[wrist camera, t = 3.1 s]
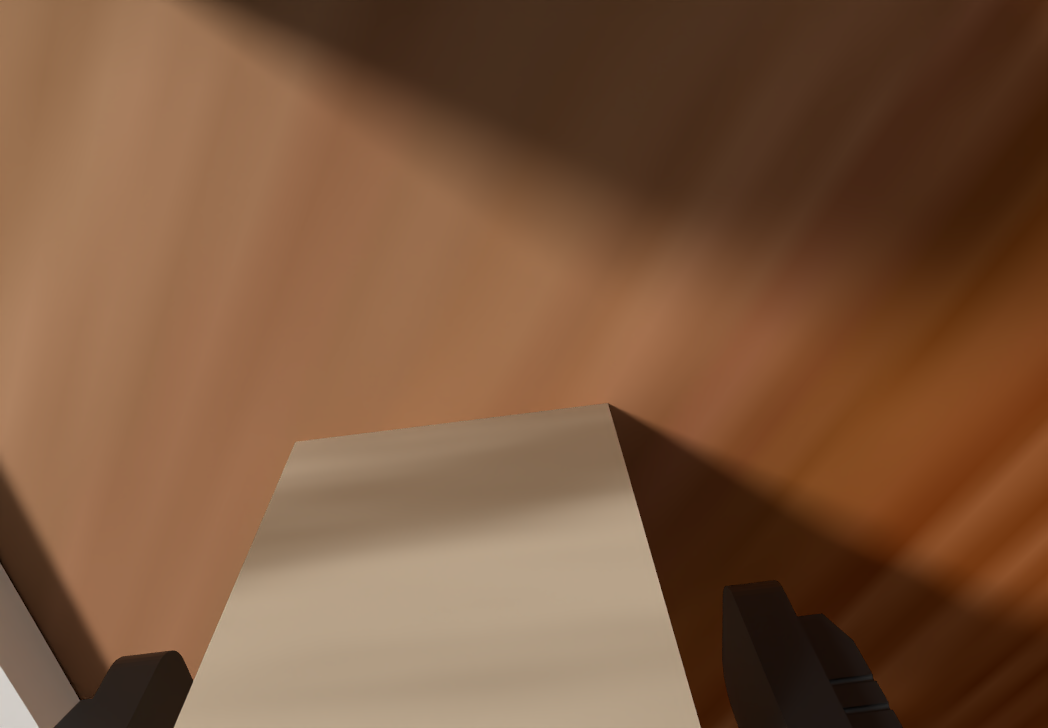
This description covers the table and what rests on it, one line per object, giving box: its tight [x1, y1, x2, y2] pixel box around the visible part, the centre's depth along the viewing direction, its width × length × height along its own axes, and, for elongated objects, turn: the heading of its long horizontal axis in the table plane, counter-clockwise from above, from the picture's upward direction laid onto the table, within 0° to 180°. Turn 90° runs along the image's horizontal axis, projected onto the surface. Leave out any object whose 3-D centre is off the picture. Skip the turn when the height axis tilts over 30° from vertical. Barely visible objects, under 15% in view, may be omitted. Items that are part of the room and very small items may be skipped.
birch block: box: [174, 403, 701, 728], centre depth 10 cm, size 5×5×6 cm
